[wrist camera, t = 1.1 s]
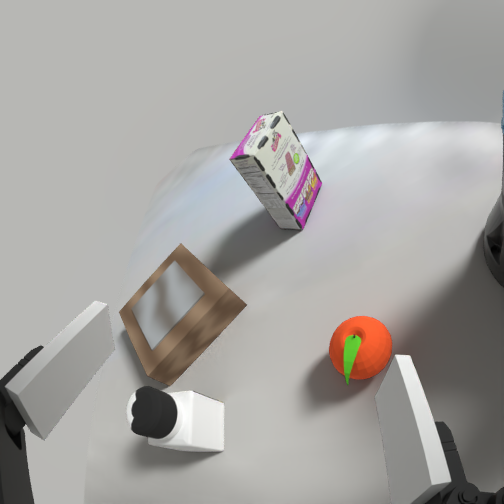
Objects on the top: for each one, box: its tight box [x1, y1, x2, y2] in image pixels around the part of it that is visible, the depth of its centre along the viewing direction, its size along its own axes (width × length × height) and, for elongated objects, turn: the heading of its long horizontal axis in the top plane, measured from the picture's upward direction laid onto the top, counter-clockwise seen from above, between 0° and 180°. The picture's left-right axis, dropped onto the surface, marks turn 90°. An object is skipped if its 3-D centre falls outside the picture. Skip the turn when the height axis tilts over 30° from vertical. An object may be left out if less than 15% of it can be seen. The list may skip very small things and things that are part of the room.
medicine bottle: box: [126, 386, 224, 452], centre depth 33 cm, size 7×7×12 cm
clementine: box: [329, 316, 392, 385], centre depth 30 cm, size 8×7×7 cm
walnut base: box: [119, 244, 247, 386], centre depth 50 cm, size 18×18×5 cm
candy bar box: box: [229, 111, 322, 230], centre depth 48 cm, size 11×5×16 cm, turn 151°
